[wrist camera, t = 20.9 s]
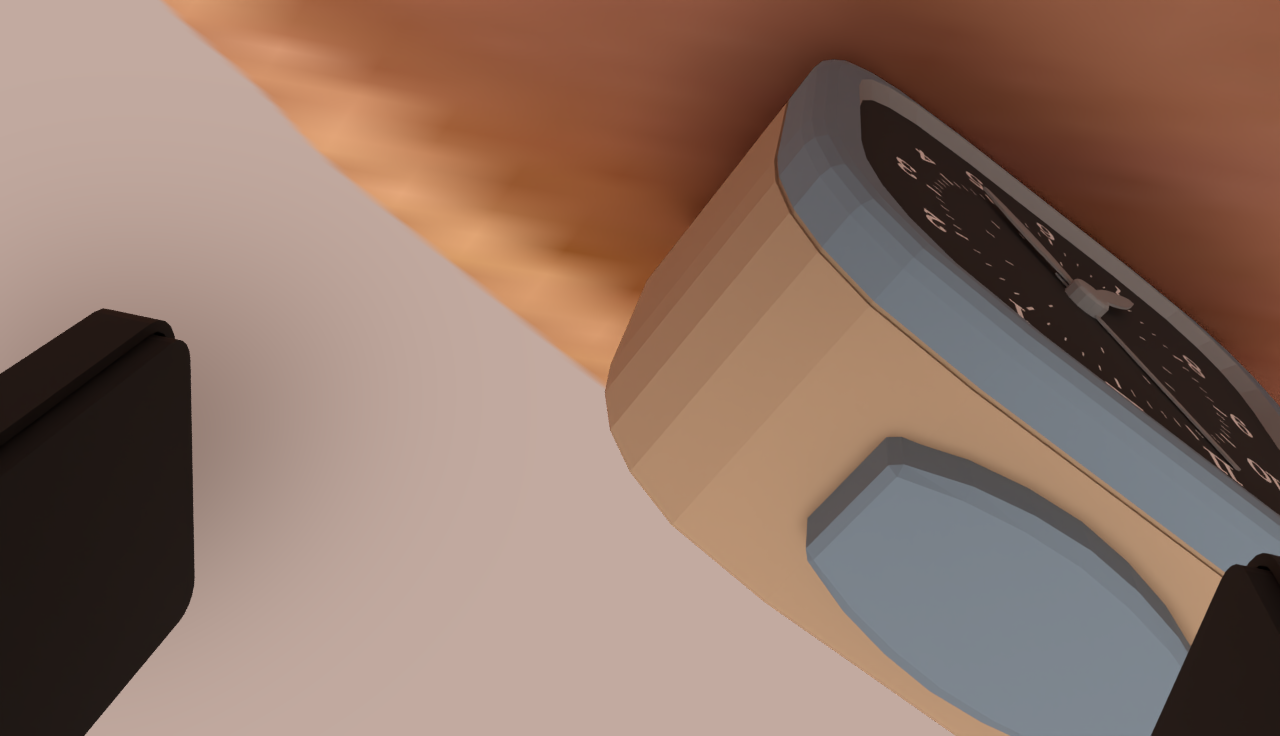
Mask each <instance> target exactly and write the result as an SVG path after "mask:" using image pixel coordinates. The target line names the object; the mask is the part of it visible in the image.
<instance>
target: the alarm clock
mask: <svg viewBox="0 0 1280 736" xmlns="http://www.w3.org/2000/svg"><path fill="white" fill-rule="evenodd" d="M605 397H606V404H607V411H608V418H609V425H610V431H611V433H612V435H613V437H614V439H615V441H616V443H617V446H618V448H619V450H620V452H621V454H622V456H623V458H624V460H625V462H626V464H627V467H628V469H629V471H630V472H631V474H632V475H633V476H634V478H635V479H636V480H637V481H638V482H639V484H640V485H641V486H642V488H643V489H644V490H645V492H646V493H647V494H648V495H649V497H650V498H651V499H652V501H653V502H654V503H655V504H656V506H657V507H658V508H659V509H660V511H661V512H662V513H663V515H664V516H665V517H666V518H667V519H668V521H669V522H670V524H671V525H672V526H673V527H675V528H676V529H677V530H678V531H680V532H681V533H682V534H683V535H684V536H686V537H687V538H688V539H689V540H691V541H692V542H693V543H694V544H695V545H696V546H698V547H699V548H700V549H701V550H702V551H704V552H705V553H706V554H707V555H709V556H710V557H711V558H712V559H713V560H715V561H716V562H717V563H718V564H719V565H720V566H722V567H723V568H724V569H726V570H727V571H728V572H729V573H730V574H731V575H733V576H734V577H735V578H736V579H737V580H739V581H740V582H741V583H742V584H743V585H745V586H746V587H747V588H748V589H749V590H751V591H752V592H753V593H754V594H755V595H757V596H758V597H759V598H760V599H761V600H763V601H764V602H765V603H767V604H768V605H770V606H771V607H772V608H774V609H775V610H777V611H778V612H780V613H781V614H782V615H784V616H785V617H787V618H788V619H789V620H791V621H792V622H794V623H795V624H797V625H798V626H800V627H801V628H803V629H804V630H805V631H807V632H808V633H809V634H811V635H812V636H814V637H815V638H817V639H818V640H819V641H821V642H822V643H824V644H826V645H827V646H828V647H830V648H831V649H832V650H834V651H835V652H837V653H838V654H840V655H841V656H842V657H844V658H845V659H847V660H848V661H850V662H851V663H852V664H854V665H855V666H857V667H858V668H860V669H861V670H862V671H864V672H865V673H867V674H868V675H870V676H871V677H872V678H874V679H875V680H877V681H878V682H880V683H881V684H882V685H884V686H885V687H887V688H888V689H890V690H891V691H893V692H894V693H895V694H897V695H898V696H900V697H901V698H902V699H904V700H906V701H907V702H908V703H910V704H911V705H913V706H914V707H915V708H917V709H918V710H920V711H921V712H922V713H924V714H926V715H927V716H928V717H930V718H931V719H933V720H934V721H935V722H937V723H938V724H940V725H941V726H943V727H944V728H945V729H947V730H948V731H950V732H951V733H953V734H954V735H955V736H1151V734H1152V732H1153V729H1154V727H1155V725H1156V723H1157V721H1158V718H1159V716H1160V714H1161V712H1162V709H1163V707H1164V705H1165V703H1166V701H1167V698H1168V696H1169V694H1170V692H1171V689H1172V687H1173V685H1174V683H1175V681H1176V678H1177V676H1178V674H1179V672H1180V669H1181V667H1182V665H1183V663H1184V661H1185V658H1186V656H1187V654H1188V652H1189V649H1190V647H1191V645H1192V643H1193V641H1194V638H1195V636H1196V634H1197V632H1198V629H1199V627H1200V625H1201V623H1202V621H1203V618H1204V616H1205V614H1206V612H1207V609H1208V607H1209V605H1210V603H1211V601H1212V598H1213V596H1214V594H1215V592H1216V589H1217V587H1218V585H1219V583H1220V580H1221V579H1222V577H1223V575H1224V573H1225V572H1226V570H1227V569H1228V568H1229V567H1230V566H1232V565H1235V564H1239V565H1244V566H1247V565H1248V563H1249V562H1250V561H1251V560H1252V559H1253V558H1254V557H1255V556H1256V555H1258V554H1261V553H1268V554H1273V555H1277V556H1280V407H1279V406H1278V404H1277V403H1276V402H1275V401H1274V400H1273V398H1272V397H1271V396H1270V395H1269V394H1268V393H1267V392H1266V391H1265V389H1264V388H1263V387H1262V386H1261V385H1260V384H1259V383H1258V382H1257V381H1256V379H1255V378H1254V377H1253V376H1252V375H1251V374H1250V373H1249V372H1248V371H1247V370H1246V369H1245V368H1244V367H1243V366H1242V365H1241V364H1240V363H1239V362H1238V361H1237V360H1236V359H1235V358H1234V357H1233V356H1232V355H1231V354H1230V353H1229V352H1228V351H1227V350H1226V349H1225V348H1224V347H1222V346H1221V345H1220V344H1219V343H1218V342H1217V341H1216V340H1215V339H1214V338H1213V337H1211V336H1210V335H1209V334H1208V333H1207V332H1206V331H1205V330H1204V329H1203V328H1202V327H1200V326H1199V325H1198V324H1197V323H1196V322H1195V321H1194V320H1193V319H1191V318H1190V317H1189V316H1188V315H1187V314H1185V313H1184V312H1183V311H1182V310H1180V309H1179V308H1178V307H1177V306H1176V305H1174V304H1173V303H1172V302H1171V301H1169V300H1168V299H1167V298H1166V297H1165V296H1163V295H1162V294H1161V293H1160V292H1159V291H1157V290H1156V289H1155V288H1154V287H1152V286H1151V285H1150V284H1149V283H1148V282H1146V281H1145V280H1144V279H1143V278H1141V277H1140V276H1139V275H1138V274H1137V273H1135V272H1134V271H1133V270H1132V269H1130V268H1129V267H1128V266H1127V265H1125V264H1124V263H1123V262H1121V261H1120V260H1119V259H1118V258H1116V257H1115V256H1114V255H1113V254H1111V253H1110V252H1109V251H1107V250H1106V249H1105V248H1104V247H1102V246H1101V245H1100V244H1098V243H1097V242H1096V241H1095V240H1093V239H1092V238H1091V237H1090V236H1088V235H1087V234H1086V233H1084V232H1083V231H1082V230H1081V229H1079V228H1078V227H1077V226H1075V225H1074V224H1073V223H1072V222H1070V221H1069V220H1068V219H1067V218H1065V217H1064V216H1063V215H1061V214H1060V213H1059V212H1058V211H1056V210H1055V209H1054V208H1052V207H1051V206H1050V205H1049V204H1047V203H1046V202H1045V201H1044V200H1042V199H1041V198H1040V197H1038V196H1037V195H1036V194H1035V193H1033V192H1032V191H1031V190H1029V189H1028V188H1027V187H1026V186H1024V185H1023V184H1022V183H1021V182H1019V181H1018V180H1017V179H1015V178H1014V177H1013V176H1012V175H1010V174H1009V173H1008V172H1007V171H1005V170H1004V169H1003V168H1001V167H1000V166H999V165H998V164H996V163H995V162H994V161H993V160H991V159H990V158H989V157H987V156H986V155H985V154H984V153H982V152H981V151H980V150H978V149H977V148H976V147H975V146H973V145H972V144H971V143H970V142H968V141H967V140H966V139H964V138H963V137H962V136H961V135H959V134H958V133H957V132H955V131H954V130H953V129H951V128H950V127H948V126H947V125H946V124H944V123H943V122H942V121H940V120H939V119H938V118H936V117H935V116H934V115H932V114H931V113H930V112H928V111H927V110H926V109H924V108H923V107H922V106H920V105H919V104H918V103H916V102H915V101H914V100H912V99H911V98H910V97H908V96H907V95H906V94H904V93H903V92H901V91H900V90H899V89H897V88H895V87H894V86H892V85H891V84H889V83H887V82H886V81H884V80H883V79H881V78H879V77H878V76H876V75H875V74H873V73H871V72H869V71H867V70H865V69H863V68H861V67H859V66H857V65H854V64H852V63H850V62H848V61H846V60H834V59H833V60H825V61H822V62H820V63H819V64H818V65H817V66H815V67H814V68H813V70H812V71H811V72H810V73H809V75H808V76H807V77H806V79H805V80H804V81H803V82H802V84H801V85H800V86H799V87H798V89H797V90H796V91H795V93H794V94H793V95H792V96H791V98H790V99H789V100H788V101H787V103H786V104H785V105H784V107H783V108H782V109H781V110H780V112H779V113H778V114H777V116H776V117H775V118H774V119H773V121H772V122H771V123H770V124H769V126H768V127H767V128H766V130H765V131H764V132H763V133H762V135H761V136H760V137H759V138H758V140H757V141H756V142H755V144H754V145H753V146H752V147H751V149H750V150H749V151H748V153H747V154H746V155H745V156H744V158H743V159H742V160H741V161H740V163H739V164H738V165H737V167H736V168H735V169H734V170H733V172H732V173H731V174H730V175H729V177H728V178H727V179H726V181H725V182H724V183H723V184H722V186H721V187H720V188H719V190H718V191H717V192H716V193H715V195H714V196H713V197H712V198H711V200H710V201H709V202H708V204H707V205H706V206H705V207H704V209H703V210H702V211H701V212H700V214H699V215H698V216H697V218H696V219H695V220H694V221H693V223H692V224H691V225H690V227H689V228H688V229H687V230H686V232H685V233H684V234H683V235H682V237H681V238H680V239H679V241H678V242H677V243H676V244H675V246H674V247H673V248H672V249H671V251H670V252H669V253H668V255H667V256H666V257H665V258H664V260H663V261H662V262H661V264H660V265H659V266H658V267H657V269H656V270H655V271H654V272H653V274H652V275H651V276H650V278H649V279H648V280H647V282H646V284H645V287H644V289H643V291H642V294H641V296H640V298H639V301H638V303H637V305H636V307H635V310H634V312H633V314H632V317H631V319H630V321H629V324H628V326H627V328H626V331H625V333H624V335H623V338H622V340H621V342H620V344H619V347H618V349H617V351H616V354H615V356H614V358H613V361H612V363H611V365H610V370H609V375H608V380H607V384H606V389H605Z"/></svg>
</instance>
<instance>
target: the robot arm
mask: <svg viewBox="0 0 1280 736" xmlns="http://www.w3.org/2000/svg"><path fill="white" fill-rule="evenodd" d="M193 526H194V525H193V474H192V421H191V369H190V353H189V349H188V347H187V345H186V343H184V342H183V341H181V340H177V339H175V336H174V333H173V331H172V328H171V326H170V325H169V324H168V323H167V322H166V321H162V320H157V319H152V318H148V317H143V316H138V315H133V314H128V313H123V312H119V311H114V310H109V309H101V310H98V311H96V312H94V313H92V314H91V315H89V316H88V317H86V318H85V319H83V320H82V321H80V322H78V323H77V324H75V325H74V326H73V327H71V328H69V329H68V330H66V331H65V332H63V333H62V334H60V335H59V336H57V337H56V338H54V339H53V340H51V341H50V342H48V343H47V344H45V345H43V346H42V347H40V348H39V349H37V350H36V351H34V352H33V353H31V354H30V355H29V356H27V357H25V358H24V359H22V360H21V361H20V362H18V363H16V364H15V365H13V366H12V367H10V368H9V369H7V370H5V371H4V372H3V373H1V374H0V736H84V735H85V734H86V733H87V732H88V730H89V729H90V728H91V727H92V726H93V724H94V723H95V722H96V721H97V720H98V718H99V717H100V716H101V715H102V714H103V712H104V711H105V710H106V709H107V708H108V706H109V705H110V704H111V703H112V702H113V700H114V699H115V698H116V697H117V696H118V694H119V693H120V692H121V691H122V690H123V688H124V687H125V686H126V685H127V684H128V682H129V681H130V680H131V679H132V677H133V676H134V675H135V674H136V673H137V671H138V670H139V669H140V668H141V667H142V665H143V664H144V663H145V662H146V661H147V659H148V658H149V657H150V656H151V655H152V653H153V652H154V651H155V650H156V649H157V647H158V646H159V645H160V644H161V643H162V641H163V640H164V639H165V638H166V636H167V635H168V634H169V633H170V632H171V630H172V629H173V628H174V627H175V626H176V625H177V623H178V622H179V621H180V619H181V618H182V617H183V615H184V613H185V611H186V609H187V607H188V605H189V602H190V599H191V597H192V593H193V588H194V527H193ZM1151 736H1280V556H1277V555H1273V554H1268V553H1261V554H1258V555H1256V556H1255V557H1254V558H1253V559H1252V560H1251V561H1250V562H1249V563H1248V565H1247V566H1244V565H1239V564H1235V565H1232V566H1230V567H1229V568H1228V569H1227V570H1226V572H1225V573H1224V575H1223V577H1222V579H1221V580H1220V583H1219V585H1218V587H1217V589H1216V592H1215V594H1214V596H1213V598H1212V601H1211V603H1210V605H1209V607H1208V609H1207V612H1206V614H1205V616H1204V618H1203V621H1202V623H1201V625H1200V627H1199V629H1198V632H1197V634H1196V636H1195V638H1194V641H1193V643H1192V645H1191V647H1190V649H1189V652H1188V654H1187V656H1186V658H1185V661H1184V663H1183V665H1182V667H1181V669H1180V672H1179V674H1178V676H1177V678H1176V681H1175V683H1174V685H1173V687H1172V689H1171V692H1170V694H1169V696H1168V698H1167V701H1166V703H1165V705H1164V707H1163V709H1162V712H1161V714H1160V716H1159V718H1158V721H1157V723H1156V725H1155V727H1154V729H1153V732H1152V734H1151Z"/></svg>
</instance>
